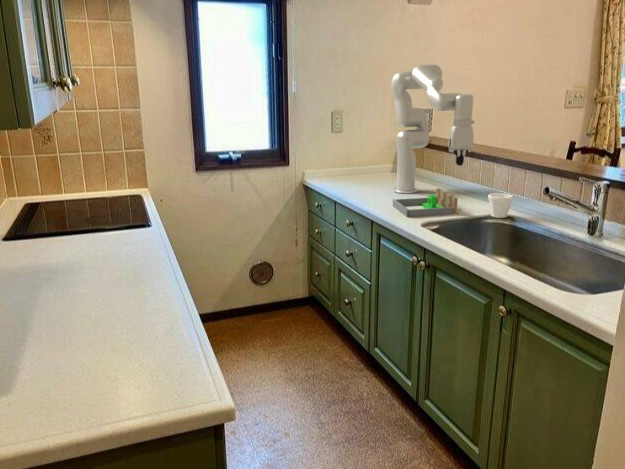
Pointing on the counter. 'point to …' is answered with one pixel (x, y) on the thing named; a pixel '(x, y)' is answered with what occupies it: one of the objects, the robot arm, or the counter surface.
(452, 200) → the gate
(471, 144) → the robot arm
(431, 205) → the mechanical part
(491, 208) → the cup
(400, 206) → the grey tray
